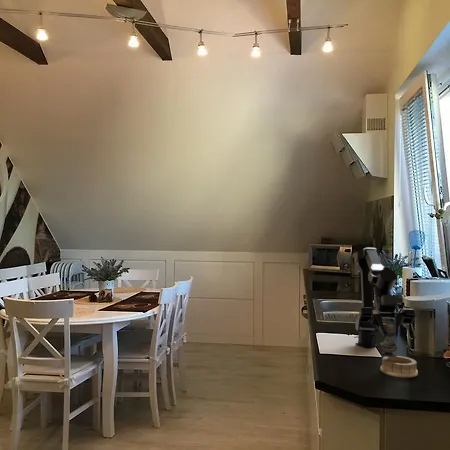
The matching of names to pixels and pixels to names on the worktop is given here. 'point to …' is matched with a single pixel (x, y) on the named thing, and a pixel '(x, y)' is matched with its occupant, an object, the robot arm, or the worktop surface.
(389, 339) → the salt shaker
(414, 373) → the beige round ring
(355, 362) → the worktop surface
